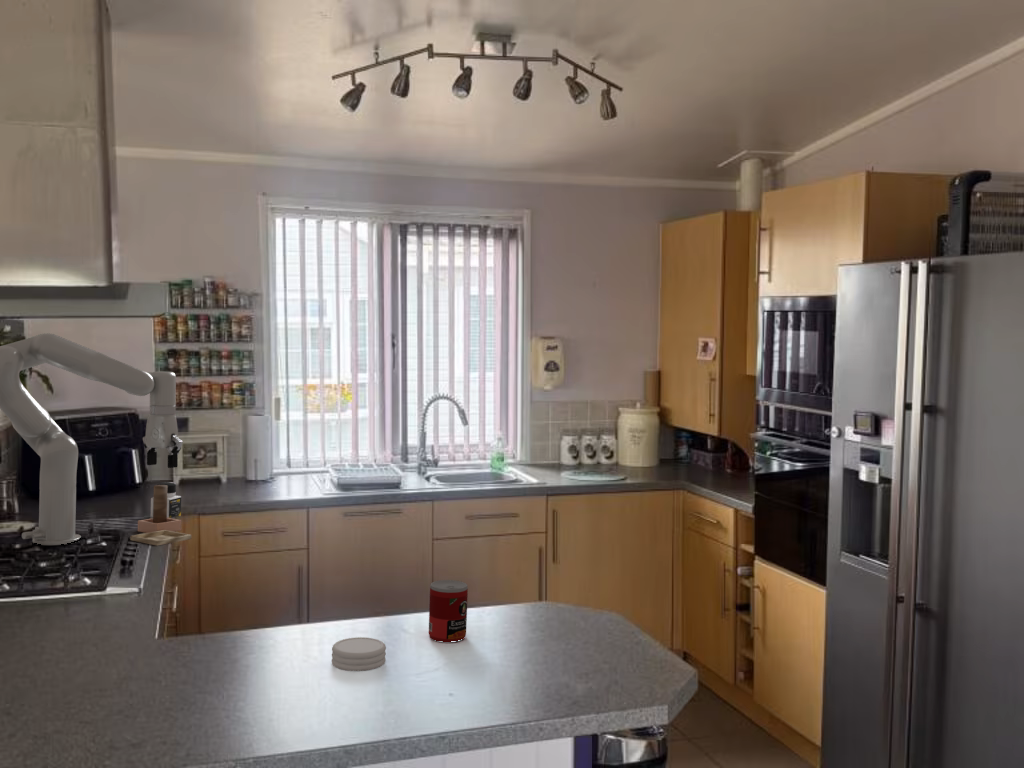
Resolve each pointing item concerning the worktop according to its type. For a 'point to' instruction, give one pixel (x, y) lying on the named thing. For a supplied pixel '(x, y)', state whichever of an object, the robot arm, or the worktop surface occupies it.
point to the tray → (160, 537)
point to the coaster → (358, 654)
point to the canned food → (448, 610)
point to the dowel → (160, 504)
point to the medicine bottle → (170, 501)
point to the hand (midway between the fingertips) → (162, 466)
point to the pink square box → (159, 525)
